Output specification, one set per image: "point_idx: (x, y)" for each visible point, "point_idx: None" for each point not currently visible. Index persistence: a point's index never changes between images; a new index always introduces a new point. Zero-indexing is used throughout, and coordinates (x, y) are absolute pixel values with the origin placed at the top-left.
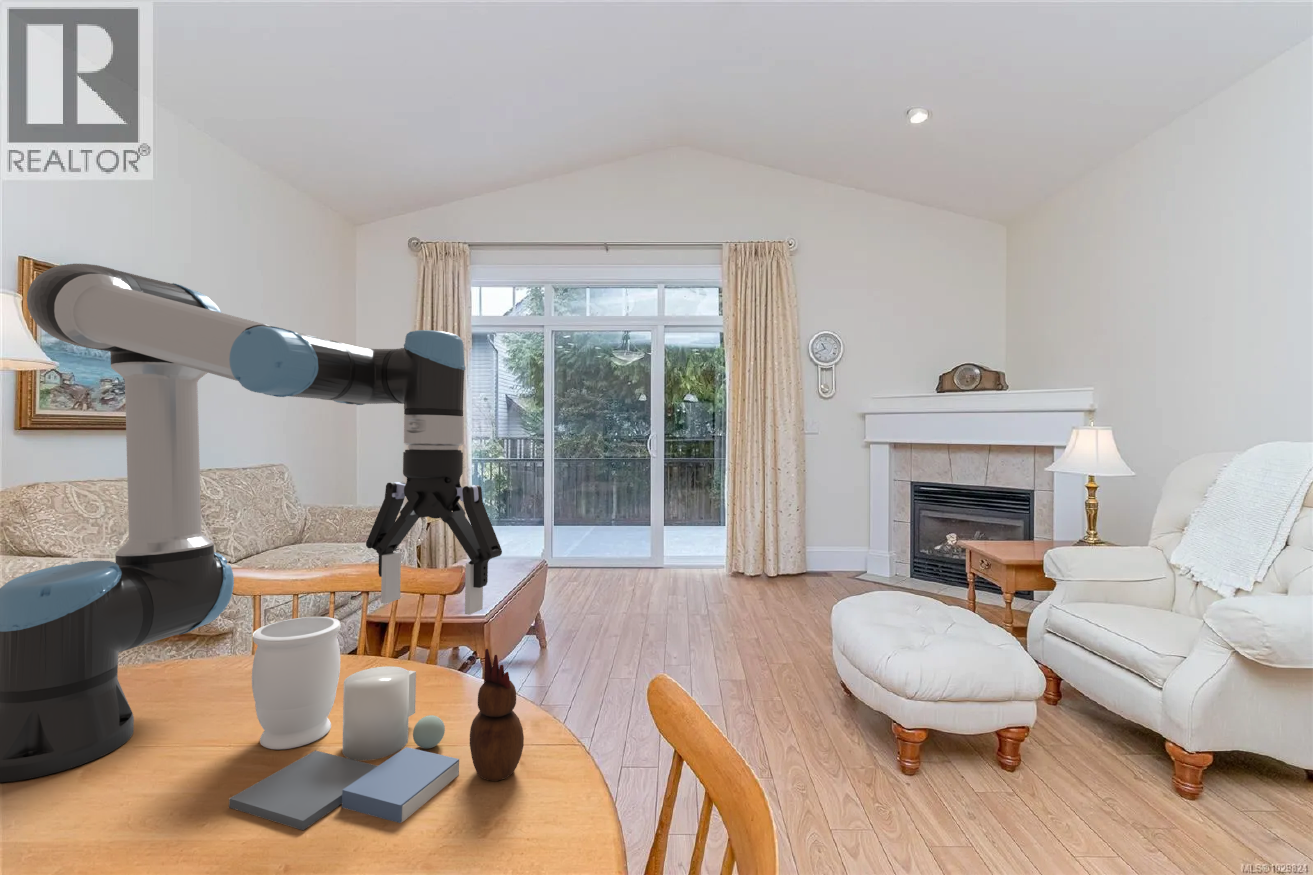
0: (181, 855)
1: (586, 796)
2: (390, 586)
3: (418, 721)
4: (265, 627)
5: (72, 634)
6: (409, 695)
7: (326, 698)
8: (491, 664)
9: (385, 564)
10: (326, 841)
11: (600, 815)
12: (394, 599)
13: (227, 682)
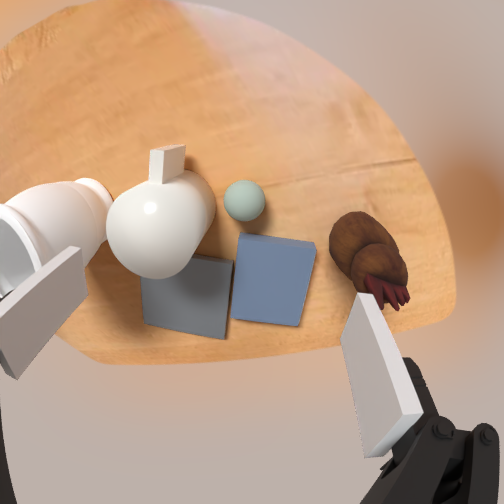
0: (170, 358)
1: (441, 253)
2: (63, 302)
3: (229, 209)
4: None
5: None
6: (174, 161)
7: (96, 227)
8: (382, 292)
9: (29, 360)
10: (252, 340)
11: (451, 274)
12: (81, 268)
13: None
